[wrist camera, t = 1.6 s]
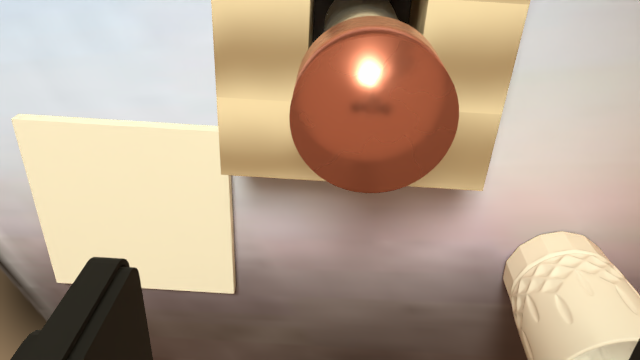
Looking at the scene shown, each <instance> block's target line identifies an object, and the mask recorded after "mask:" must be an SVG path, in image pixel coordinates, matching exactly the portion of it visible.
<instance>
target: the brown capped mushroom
mask: <svg viewBox="0 0 640 360" xmlns="http://www.w3.org/2000/svg"><path fill="white" fill-rule="evenodd" d="M289 120H290V130H291V135H292V139H293V141H294V144H295V147H296V149H297V151H298V153H299V155H300V156H301V157H302V159H303V160H304V162H305V163H306V164H307V165H308V166H309V168H310V169H311V170H312V171H314V172H315V173H316V174H317V175H318V176H320V177H321V178H323V179H324V180H326V181H327V182H329V183H331V184H333V185H335V186H337V187H340V188H343V189H346V190H350V191H354V192H362V193H380V192H388V191H392V190H396V189H399V188H402V187H405V186H408V185H410V184H412V183H414V182H416V181H417V180H419V179H421V178H422V177H424V176H425V175H426V174H428V173H429V172H430V171H432V170H433V169H434V168H435V167H436V166H437V165H438V164H439V163H440V161H441V160H442V159H443V157H444V156H445V155H446V153H447V152H448V150H449V148H450V147H451V145H452V142H453V140H454V138H455V135H456V131H457V127H458V121H459V103H458V96H457V93H456V89H455V86H454V84H453V82H452V80H451V78H450V76H449V74H448V72H447V70H446V69H445V67H444V65H443V63H442V62H441V60H440V58H439V56H438V55H437V53H436V51H435V49H434V48H433V46H432V45H431V44H430V42H429V41H428V40H427V39H426V38H425V37H424V36H423V35H422V34H421V33H420V32H419V31H417V30H416V29H415V28H413V27H411V26H410V25H408V24H406V23H404V22H401V21H399V20H398V18H397V16H396V13H395V11H394V9H393V7H392V5H391V4H390V2H389V1H388V0H335V1H334V2H333V3H332V4H331V6H330V7H329V9H328V11H327V14H326V17H325V21H324V30H323V34H322V35H320V36H319V37H318V38H317V39H316V40H315V41H314V42H313V44H312V45H311V46H310V48H309V49H308V50H307V52H306V54H305V56H304V57H303V59H302V62H301V64H300V67H299V70H298V74H297V78H296V83H295V87H294V92H293V96H292V100H291V105H290V114H289Z"/></svg>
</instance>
